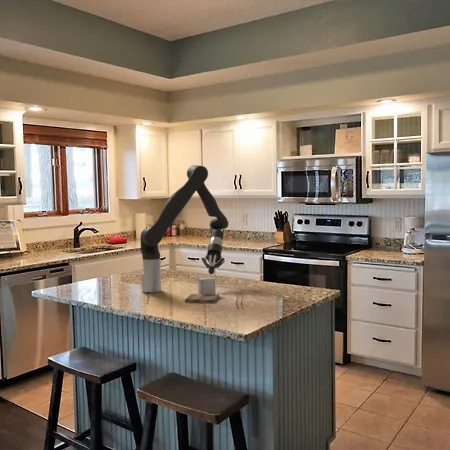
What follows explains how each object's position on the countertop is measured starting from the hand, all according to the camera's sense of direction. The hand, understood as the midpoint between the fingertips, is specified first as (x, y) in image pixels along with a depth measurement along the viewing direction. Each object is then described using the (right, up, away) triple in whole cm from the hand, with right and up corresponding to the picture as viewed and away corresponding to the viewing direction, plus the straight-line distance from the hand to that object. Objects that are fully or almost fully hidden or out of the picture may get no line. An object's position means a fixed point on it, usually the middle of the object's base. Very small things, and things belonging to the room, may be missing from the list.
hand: (211, 273), depth 256 cm
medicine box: (-2, -10, -9) cm, 14 cm away
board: (-4, -11, -19) cm, 22 cm away
